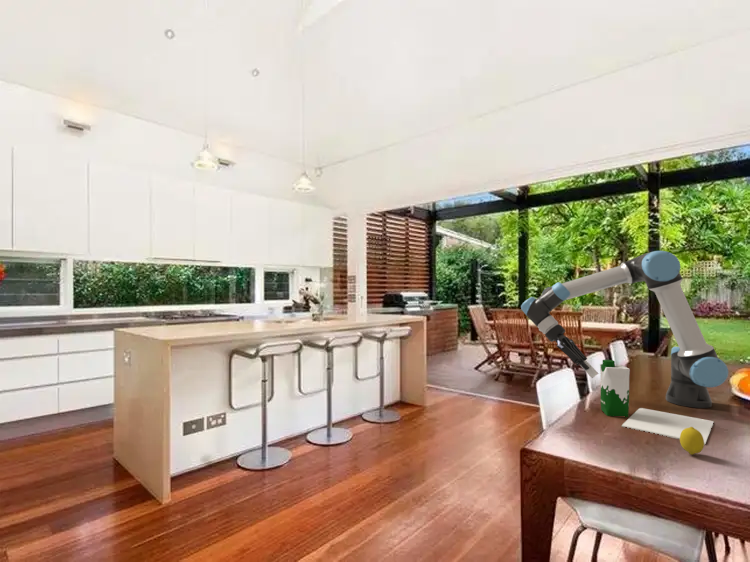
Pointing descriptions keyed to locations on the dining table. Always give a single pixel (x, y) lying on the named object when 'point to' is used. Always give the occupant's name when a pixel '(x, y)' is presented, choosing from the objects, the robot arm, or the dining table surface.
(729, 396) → the dining table surface
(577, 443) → the dining table surface
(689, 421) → the mat
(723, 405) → the dining table surface
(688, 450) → the lemon
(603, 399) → the soya milk
